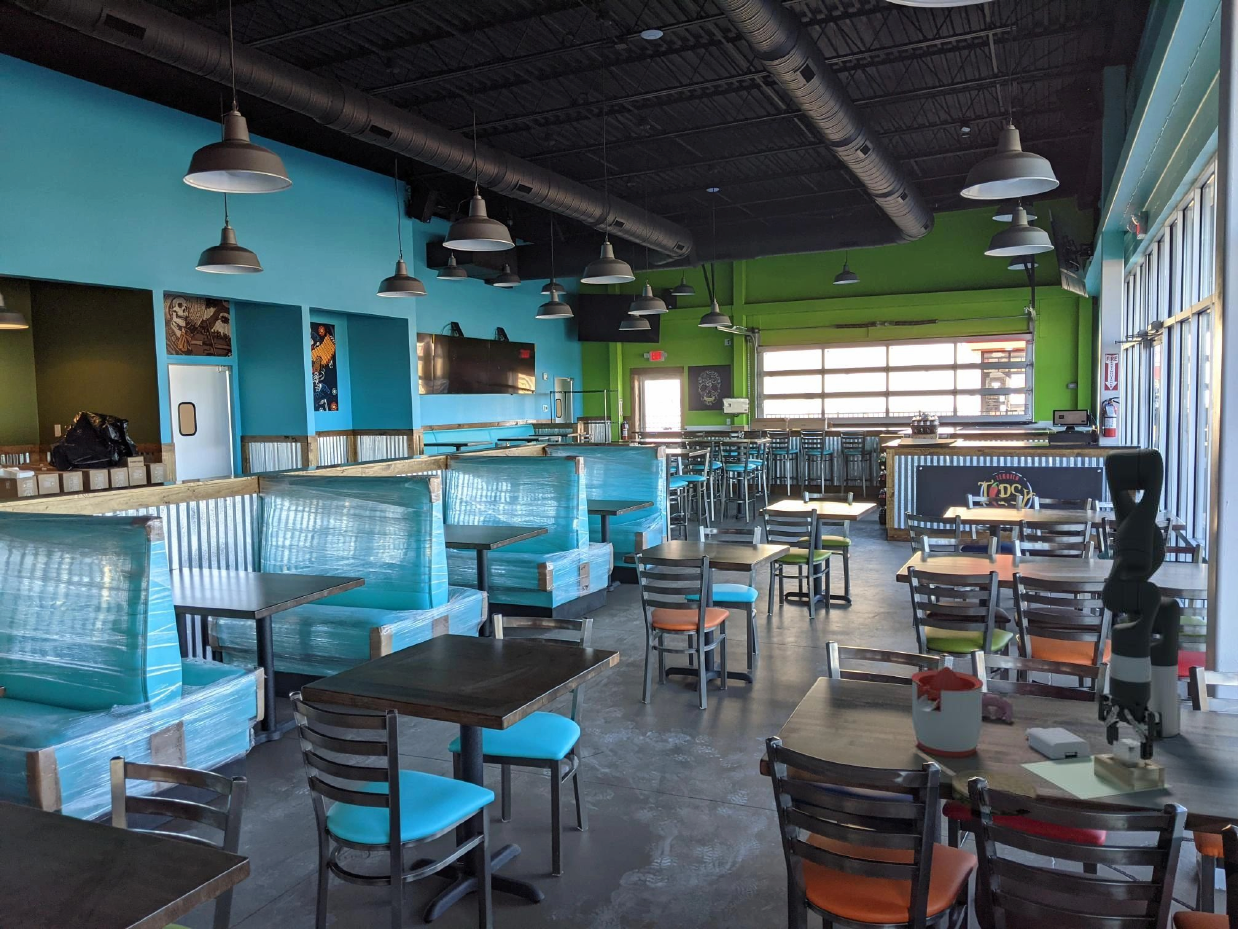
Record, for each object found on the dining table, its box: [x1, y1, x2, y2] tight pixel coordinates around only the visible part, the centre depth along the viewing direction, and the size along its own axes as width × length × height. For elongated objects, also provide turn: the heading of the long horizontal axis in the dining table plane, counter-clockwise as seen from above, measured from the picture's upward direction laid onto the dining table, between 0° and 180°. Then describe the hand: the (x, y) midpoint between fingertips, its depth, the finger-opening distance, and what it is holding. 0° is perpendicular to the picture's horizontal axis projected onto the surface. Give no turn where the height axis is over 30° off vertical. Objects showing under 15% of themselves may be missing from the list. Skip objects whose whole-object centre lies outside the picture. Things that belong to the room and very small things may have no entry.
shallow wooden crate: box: [1093, 753, 1166, 791], centre depth 180 cm, size 9×9×4 cm
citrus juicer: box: [910, 666, 984, 758], centre depth 199 cm, size 16×17×20 cm
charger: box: [1024, 727, 1091, 760], centre depth 200 cm, size 5×9×15 cm
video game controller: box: [982, 693, 1014, 724], centre depth 222 cm, size 10×5×7 cm, turn 59°
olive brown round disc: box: [951, 769, 1038, 817], centre depth 175 cm, size 16×16×3 cm
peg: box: [1112, 738, 1145, 769], centre depth 180 cm, size 4×4×8 cm
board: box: [1020, 753, 1173, 800], centre depth 183 cm, size 22×18×1 cm
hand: (1128, 751), depth 180 cm, fingers open, 8 cm apart
